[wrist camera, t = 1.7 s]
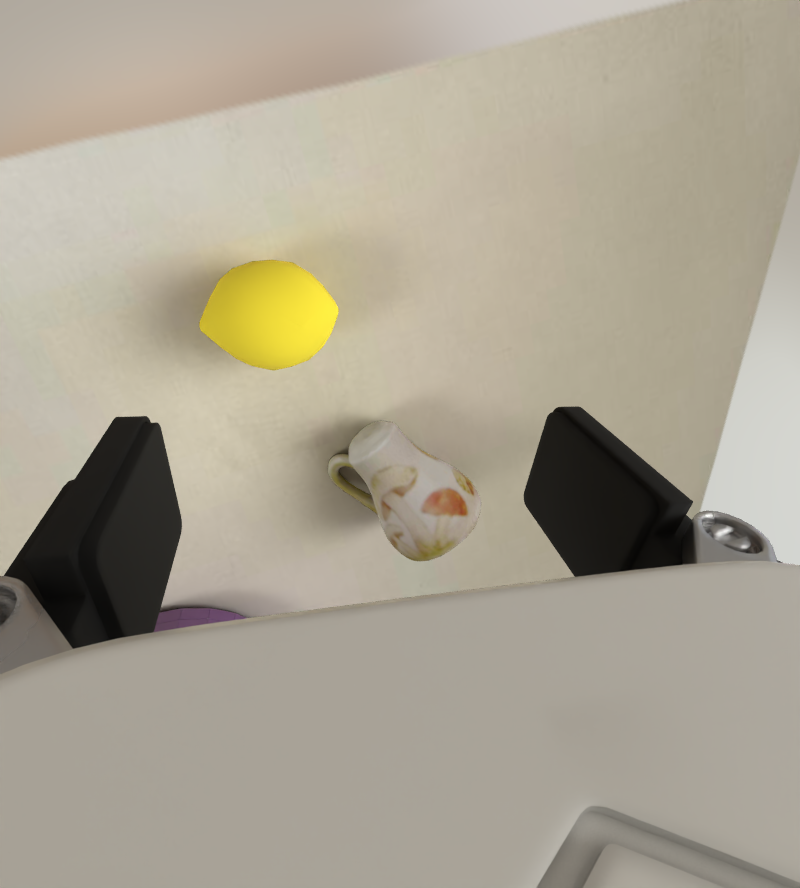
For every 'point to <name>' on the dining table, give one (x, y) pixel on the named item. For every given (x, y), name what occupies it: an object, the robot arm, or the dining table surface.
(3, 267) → the dining table surface
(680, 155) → the dining table surface
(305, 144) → the dining table surface
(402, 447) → the mug
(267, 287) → the lemon
